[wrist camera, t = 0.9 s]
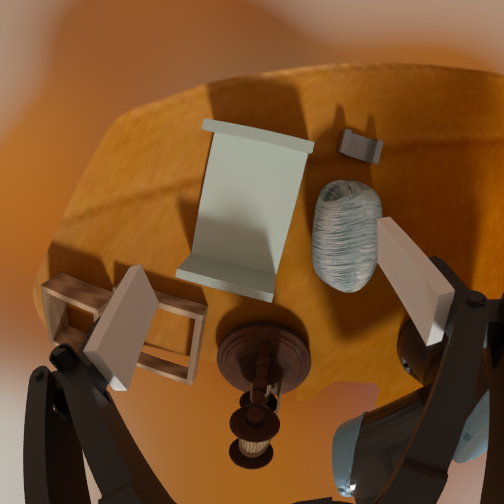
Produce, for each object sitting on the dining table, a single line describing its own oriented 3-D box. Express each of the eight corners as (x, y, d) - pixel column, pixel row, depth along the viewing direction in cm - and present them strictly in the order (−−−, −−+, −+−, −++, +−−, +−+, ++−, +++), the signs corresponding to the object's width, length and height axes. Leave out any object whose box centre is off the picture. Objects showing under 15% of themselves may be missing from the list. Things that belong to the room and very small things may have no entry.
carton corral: (116, 293, 46) (98, 309, 40) (117, 350, 50) (103, 369, 45) (60, 272, 47) (40, 285, 41) (66, 327, 51) (50, 342, 45)
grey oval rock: (302, 168, 33) (353, 203, 26) (362, 169, 37) (416, 201, 29) (286, 263, 41) (322, 312, 33) (341, 254, 44) (381, 296, 36)
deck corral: (208, 305, 44) (202, 315, 42) (196, 374, 50) (191, 385, 47) (121, 279, 45) (112, 286, 42) (122, 348, 50) (114, 357, 47)
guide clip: (376, 142, 34) (383, 141, 31) (371, 163, 35) (378, 164, 32) (341, 130, 34) (345, 128, 32) (335, 152, 35) (340, 151, 33)
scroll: (302, 389, 48) (302, 485, 29) (220, 380, 49) (192, 472, 31) (317, 321, 43) (330, 424, 24) (220, 311, 45) (180, 407, 26)
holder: (309, 144, 35) (314, 142, 29) (274, 279, 42) (271, 302, 35) (218, 124, 36) (204, 118, 29) (192, 258, 42) (175, 277, 36)
